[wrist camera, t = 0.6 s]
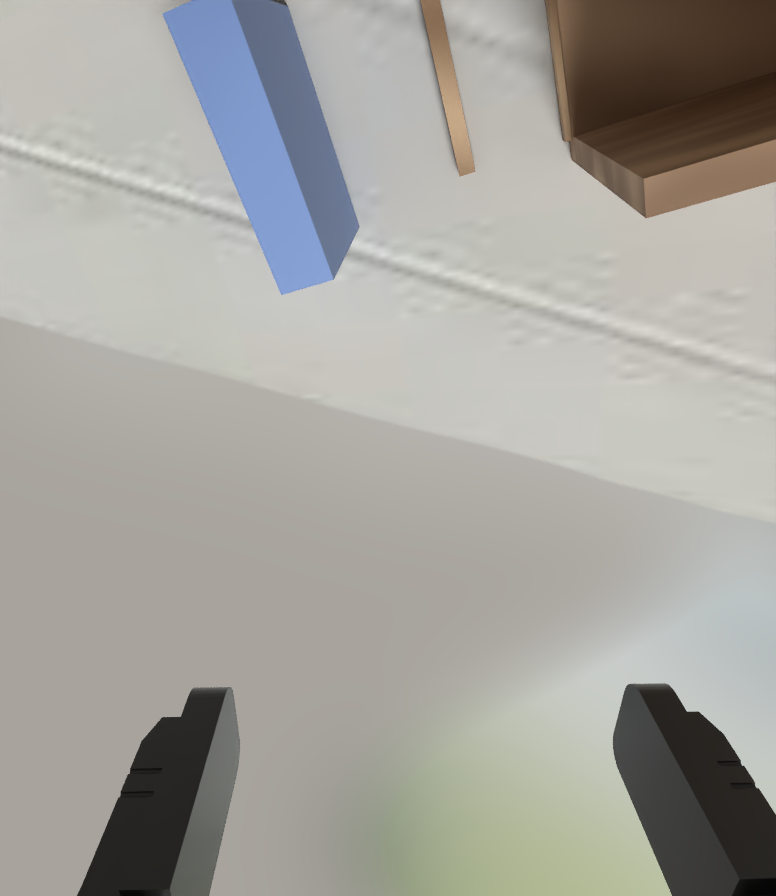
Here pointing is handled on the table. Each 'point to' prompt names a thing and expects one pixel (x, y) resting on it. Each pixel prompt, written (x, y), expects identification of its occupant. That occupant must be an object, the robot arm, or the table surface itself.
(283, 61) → the blue rectangular block
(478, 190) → the table surface
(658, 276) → the table surface
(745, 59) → the cabinet
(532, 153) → the table surface
